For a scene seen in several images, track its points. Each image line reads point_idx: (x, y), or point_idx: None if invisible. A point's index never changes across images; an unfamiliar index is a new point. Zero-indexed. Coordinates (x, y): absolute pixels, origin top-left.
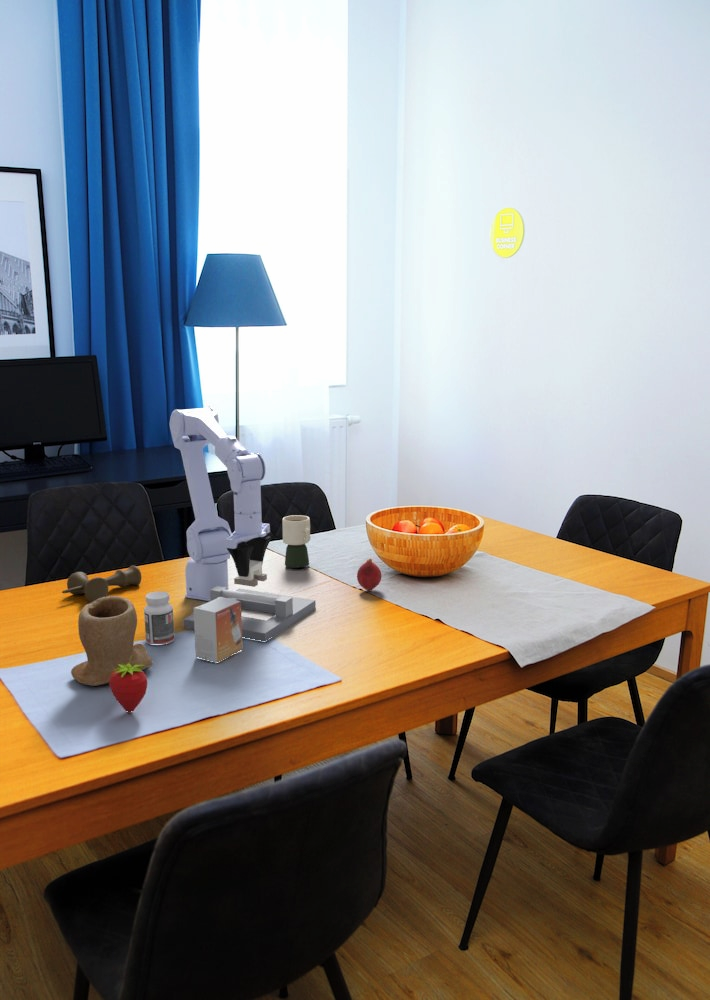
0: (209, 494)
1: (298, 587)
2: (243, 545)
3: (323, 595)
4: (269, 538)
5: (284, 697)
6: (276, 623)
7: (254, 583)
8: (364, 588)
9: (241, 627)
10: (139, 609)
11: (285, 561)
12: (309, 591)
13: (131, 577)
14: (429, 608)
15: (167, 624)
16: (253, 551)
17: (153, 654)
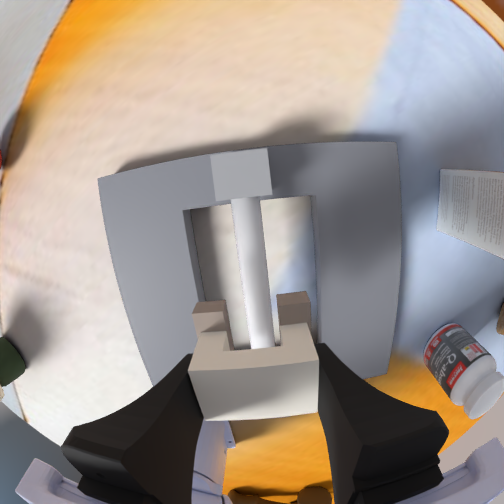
0: None
1: (49, 302)
2: (395, 480)
3: (45, 224)
4: (81, 444)
5: (491, 35)
6: (320, 152)
7: (306, 297)
8: (1, 163)
9: (476, 170)
10: (320, 454)
11: (20, 373)
12: (48, 268)
13: (244, 502)
14: (41, 20)
15: (475, 341)
16: (185, 443)
17: (483, 309)
